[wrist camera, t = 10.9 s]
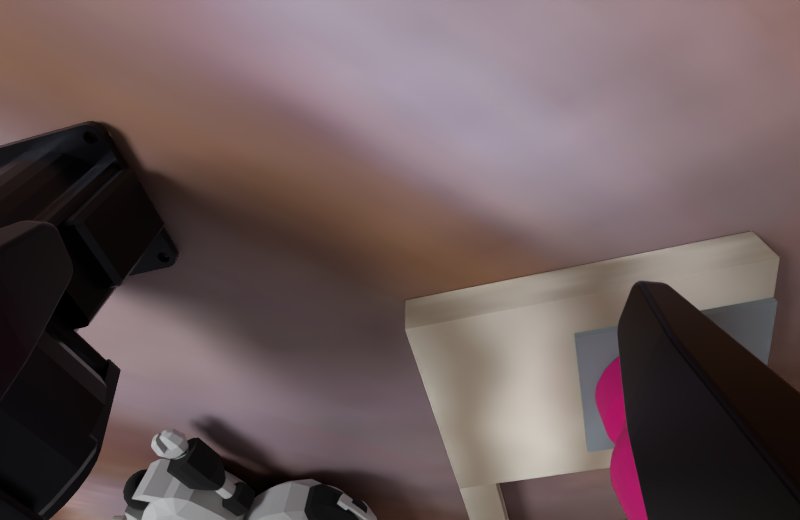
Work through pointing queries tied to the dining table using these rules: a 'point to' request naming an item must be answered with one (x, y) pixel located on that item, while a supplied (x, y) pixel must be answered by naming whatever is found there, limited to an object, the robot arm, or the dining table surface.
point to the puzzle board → (562, 355)
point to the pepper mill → (619, 442)
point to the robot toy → (224, 490)
